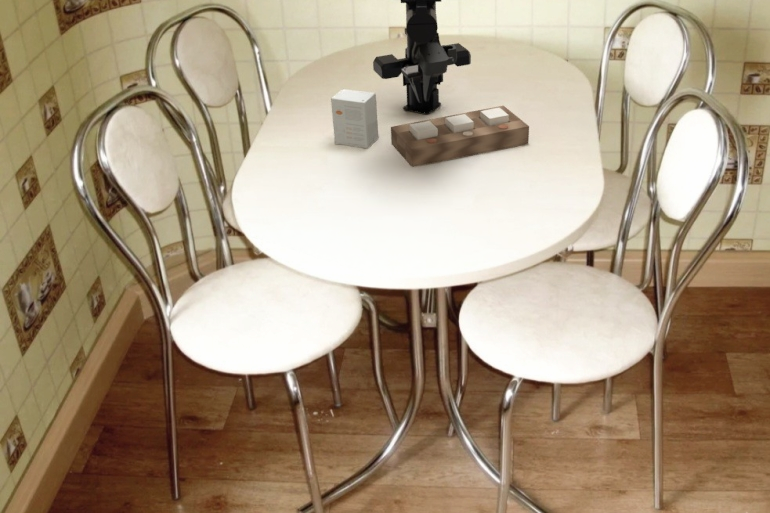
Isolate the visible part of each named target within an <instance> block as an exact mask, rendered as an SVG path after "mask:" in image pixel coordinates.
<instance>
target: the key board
mask: <svg viewBox="0 0 770 513" xmlns="http://www.w3.org/2000/svg"><path fill="white" fill-rule="evenodd" d="M494 108H501V109H502V110H503V111H504V112H506V113H507V114H508V115H509V122H508V123H503V124H498V125H493V126H488V125H487V124H486V123H484V122H483V121H482V120H481V119H480V113H481V111H484V110H489V109H494ZM463 114H465V115H466V116H468V117H469V118H470V119H471V120H472V121H473V122H474V129H472V130H467V131H462V132H457V133H452V132H451V131H450V130H449V129H448V128H447V127H446V121H445V118H447V117H452V116H457V115H463ZM426 121H430V122H431V123H432V124H433V125H434V126H435V127H436V128H437V129H438V136H436V137H431V138H426V139H421V140H416V139H415V138H414V137H413V136H412V135H411V134H410V124H415V123H421V122H426ZM529 134H530V125H528V124H527V123H526V122H524V121H523V120H522V119H521V118H520V117H518V116H517V115H516V114H515V113H513V112H512V111H511V110H510V109H508V108H507V107H506V106H505V105H499V106H493V107H488V108H483V109H479V110H473V111H468V112H462V113H458V114H456V113H455V114H451V115H447V116H446V115H445V116H441V117H435V118H431V119H430V118H429V119H424V120H419V121H414V122H410V123H404V124H399V125H392V126H390V139H391V143H390V144H391V146H392V147H393V148H394V149H395V150H396V151H397V152H398V153H399V155H401V157H402V158H403V159H404V160H405V161H406V163H408V164H409V165H410V167H411V168H416V167H421V166H425V165H431V164H435V163H441V162H445V161H450V160H455V159H459V158H460V159H461V158H464V157H470V156H475V155H479V154H485V153H490V152H495V151H500V150H505V149H509V148H516V147H519V146H525V145H529V139H530V136H529Z"/></svg>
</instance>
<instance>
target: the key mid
mask: <svg viewBox="0 0 770 513" xmlns="http://www.w3.org/2000/svg"><path fill="white" fill-rule="evenodd" d="M445 121H446V127H447V128H448V129H449V130H450V131H451V132H452V133H457V132H462V131H467V130H472V129H474V122H473V121H472V120H471V119H470V118H469V117H468V116H466V115H465V114H463V115H457V116H452V117H447V118H445Z"/></svg>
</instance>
